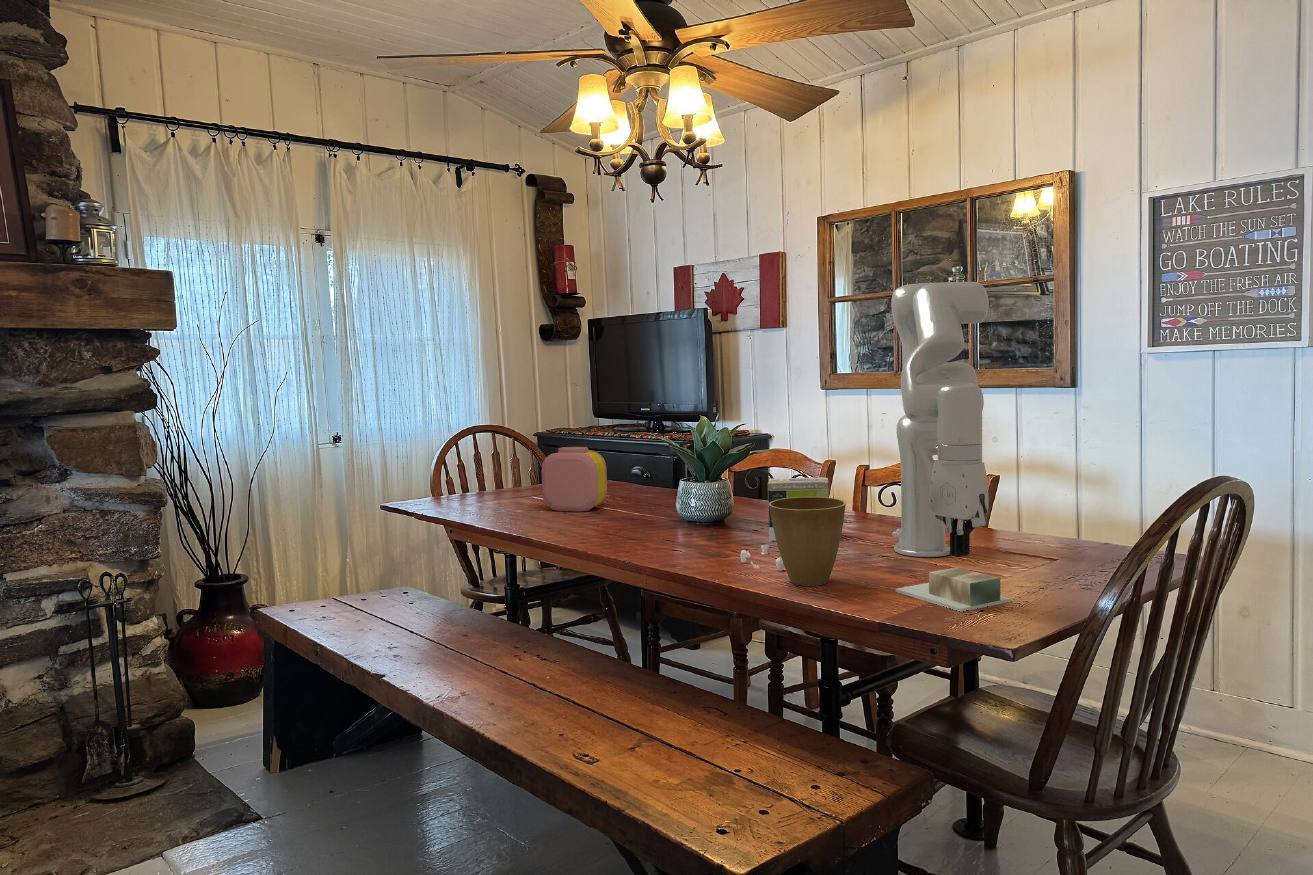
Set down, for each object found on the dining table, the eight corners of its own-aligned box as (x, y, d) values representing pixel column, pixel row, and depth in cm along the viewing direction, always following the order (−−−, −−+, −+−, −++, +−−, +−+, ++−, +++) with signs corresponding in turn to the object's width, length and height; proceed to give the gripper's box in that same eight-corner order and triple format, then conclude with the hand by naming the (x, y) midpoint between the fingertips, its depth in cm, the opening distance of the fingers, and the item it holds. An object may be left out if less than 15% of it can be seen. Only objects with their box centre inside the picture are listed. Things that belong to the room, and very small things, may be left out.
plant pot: (780, 571, 182) (779, 495, 180) (852, 575, 176) (851, 497, 175) (761, 588, 168) (760, 506, 167) (838, 594, 162) (837, 509, 161)
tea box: (829, 534, 220) (829, 476, 219) (830, 542, 210) (830, 481, 209) (770, 533, 222) (769, 476, 221) (768, 541, 213) (767, 482, 211)
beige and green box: (928, 572, 158) (971, 583, 149) (957, 567, 161) (1000, 578, 152) (929, 593, 158) (971, 606, 150) (957, 588, 162) (1000, 600, 153)
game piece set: (810, 576, 178) (810, 558, 177) (723, 567, 188) (723, 550, 188) (843, 557, 194) (842, 540, 194) (761, 550, 205) (761, 534, 204)
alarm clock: (609, 507, 273) (607, 446, 271) (597, 512, 262) (595, 449, 261) (554, 506, 278) (552, 446, 277) (540, 511, 268) (538, 449, 266)
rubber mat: (895, 591, 163) (895, 588, 163) (943, 583, 168) (943, 580, 168) (960, 612, 148) (960, 608, 148) (1010, 601, 154) (1010, 598, 154)
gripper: (913, 452, 159) (914, 550, 161) (977, 458, 146) (977, 565, 147) (944, 449, 163) (944, 545, 164) (1008, 455, 149) (1008, 560, 151)
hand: (959, 554), depth 156 cm, fingers closed
